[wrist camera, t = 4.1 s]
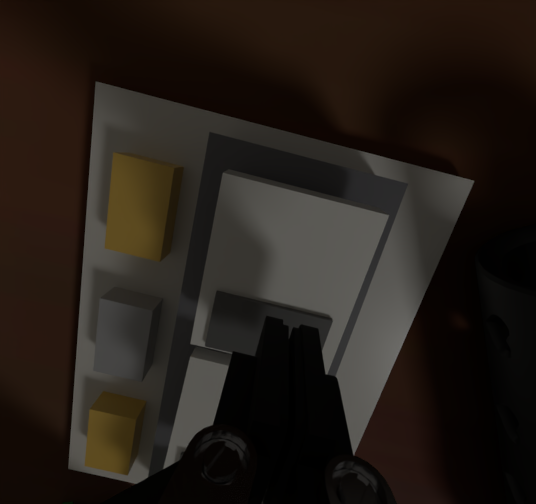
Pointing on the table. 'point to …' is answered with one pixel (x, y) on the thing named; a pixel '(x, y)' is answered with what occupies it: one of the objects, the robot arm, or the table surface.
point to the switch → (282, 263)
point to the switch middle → (197, 399)
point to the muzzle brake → (512, 352)
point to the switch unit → (194, 258)
